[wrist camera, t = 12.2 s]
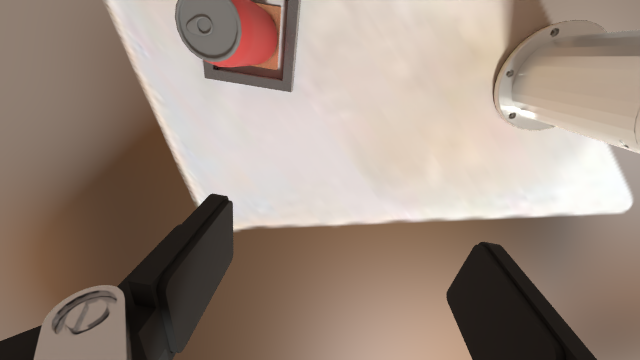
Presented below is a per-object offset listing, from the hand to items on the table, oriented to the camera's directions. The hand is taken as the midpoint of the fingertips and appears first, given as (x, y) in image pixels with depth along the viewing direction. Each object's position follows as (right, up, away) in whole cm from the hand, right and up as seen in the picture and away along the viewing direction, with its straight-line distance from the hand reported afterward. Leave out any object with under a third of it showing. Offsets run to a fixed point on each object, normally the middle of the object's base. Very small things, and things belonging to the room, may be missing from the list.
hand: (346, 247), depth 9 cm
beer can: (-10, +21, +21) cm, 32 cm away
